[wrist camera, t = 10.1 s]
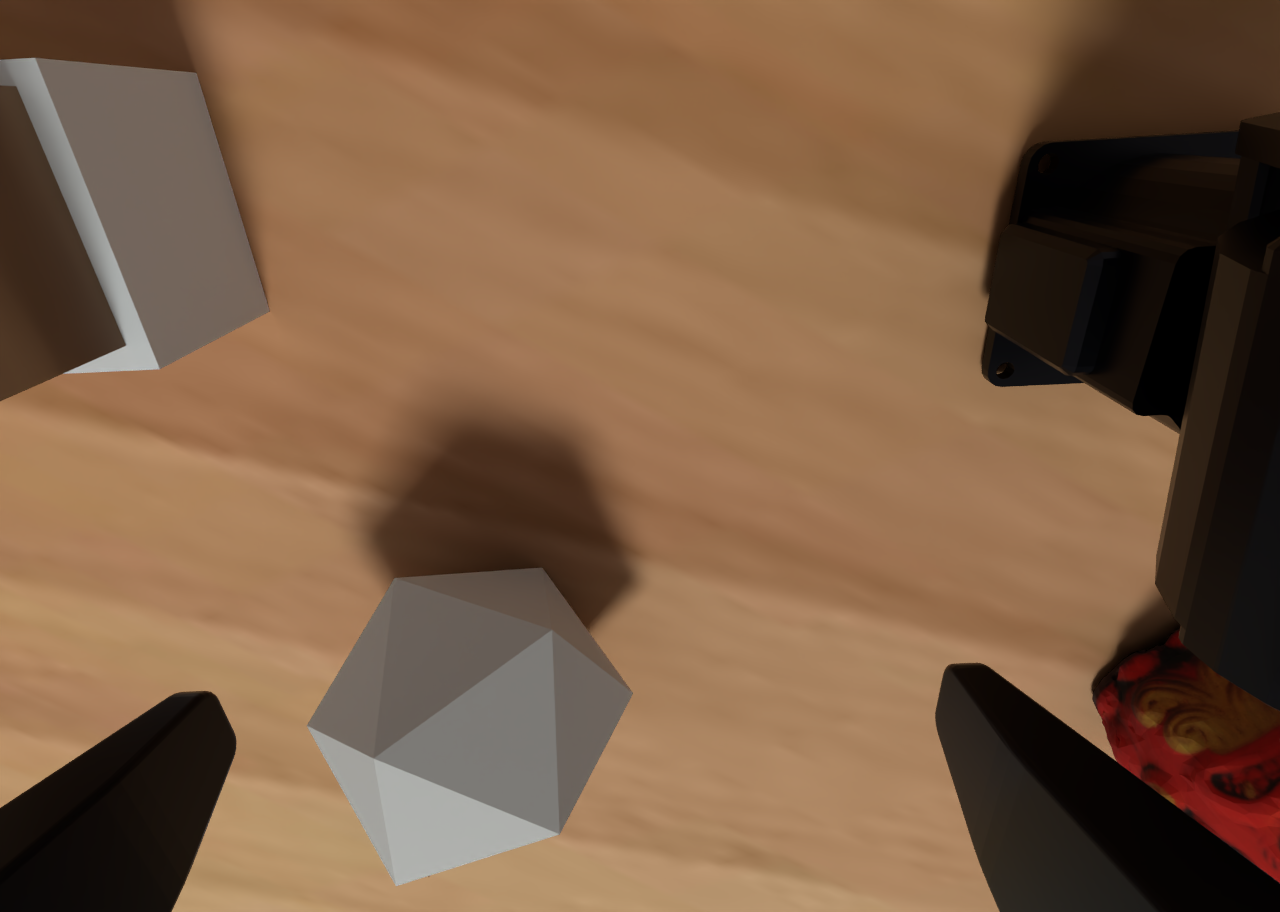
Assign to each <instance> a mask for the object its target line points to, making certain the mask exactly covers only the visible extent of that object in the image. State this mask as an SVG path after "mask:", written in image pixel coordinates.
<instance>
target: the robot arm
mask: <svg viewBox="0 0 1280 912" xmlns="http://www.w3.org/2000/svg"><path fill="white" fill-rule="evenodd" d="M1046 154H1048V155H1049V156H1050V165H1049V167H1048V168H1047V169H1046V170H1045V171H1044V172H1043V173H1040V172H1039V170H1038V164H1039V162H1040V159H1041V158H1042V157H1043V156H1045V155H1046ZM985 322H986V323H987V325H988V326H989V331H988V336H987V342H986V347H985V352H984V357H983V363H982V374H983V376H984V378H985V379H987V380H988V381H989V382H991V383H992V384H994V385H995V386H1000V387H1007V386H1028V385H1049V384H1070V383H1085V384H1087V385H1089V386H1090V387H1092V388H1094V389H1095V390H1097V391H1099V392H1100V393H1102V394H1104V395H1105V396H1107V397H1108V398H1110V399H1112V400H1113V401H1115V402H1117V403H1118V404H1120V405H1122V406H1123V407H1125V408H1126V409H1128V410H1130V411H1131V412H1133V413H1135V414H1136V415H1141V416H1150V417H1152V418H1154V419H1155V420H1157V421H1159V422H1160V423H1162V424H1164V425H1165V426H1167V427H1169V428H1170V429H1172V430H1174V431H1175V432H1177V433H1179V434H1180V436H1179V441H1178V446H1177V451H1176V457H1175V462H1174V467H1173V472H1172V477H1171V483H1170V488H1169V493H1168V498H1167V503H1166V509H1165V514H1164V519H1163V524H1162V529H1161V534H1160V540H1159V545H1158V550H1157V555H1156V576H1155V584H1156V586H1157V588H1158V590H1159V592H1160V593H1161V595H1162V597H1163V599H1164V601H1165V602H1166V604H1167V606H1168V608H1169V610H1170V611H1171V613H1172V615H1173V617H1174V618H1175V619H1176V621H1177V622H1178V623H1179V624H1180V625H1181V627H1180V631H1179V639H1180V641H1181V643H1182V644H1183V645H1184V646H1185V647H1186V648H1188V649H1189V650H1190V651H1191V652H1192V653H1193V654H1194V655H1196V656H1197V657H1198V658H1199V659H1200V660H1201V661H1203V662H1204V663H1205V664H1206V665H1207V666H1208V667H1210V668H1211V669H1212V670H1213V671H1214V672H1216V673H1217V674H1219V675H1220V676H1222V677H1223V678H1225V679H1227V680H1228V681H1230V682H1231V683H1233V684H1235V685H1236V686H1238V687H1239V688H1241V689H1243V690H1244V691H1246V692H1247V693H1249V694H1251V695H1252V696H1254V697H1255V698H1257V699H1259V700H1260V701H1262V702H1263V703H1265V704H1267V705H1268V706H1270V707H1272V708H1274V709H1276V710H1278V711H1280V112H1279V113H1274V114H1269V115H1264V116H1259V117H1254V118H1249V119H1245V120H1242V121H1241V123H1240V129H1239V130H1237V131H1220V132H1203V133H1185V134H1168V135H1151V136H1134V137H1117V138H1100V139H1082V140H1065V141H1048V142H1042V143H1038V144H1036V145H1034V146H1033V147H1031V148H1030V149H1029V150H1028V151H1027V152H1026V154H1025V155H1024V156H1023V159H1022V161H1021V164H1020V169H1019V174H1018V180H1017V185H1016V190H1015V195H1014V201H1013V206H1012V211H1011V216H1010V221H1009V225H1008V227H1007V228H1006V229H1005V230H1004V231H1003V232H1002V233H1001V236H1000V241H999V247H998V252H997V257H996V263H995V268H994V273H993V279H992V284H991V289H990V295H989V300H988V305H987V311H986V316H985ZM1006 362H1008V366H1007V368H1006V370H1005V371H1004V372H1002V373H1000V374H997V373H996V371H997V369H998V367H999V366H1000V365H1001V364H1002V363H1006ZM935 719H936V727H937V732H938V735H939V738H940V741H941V745H942V748H943V751H944V754H945V757H946V761H947V764H948V767H949V770H950V773H951V776H952V780H953V783H954V786H955V789H956V792H957V795H958V799H959V802H960V805H961V808H962V811H963V814H964V818H965V821H966V824H967V827H968V830H969V834H970V837H971V840H972V843H973V846H974V849H975V852H976V855H977V858H978V860H979V863H980V866H981V868H982V871H983V873H984V876H985V878H986V881H987V883H988V886H989V888H990V890H991V893H992V895H993V897H994V900H995V902H996V904H997V907H998V909H999V911H1000V912H1280V883H1279V882H1278V881H1277V880H1275V879H1274V878H1273V877H1271V876H1270V875H1268V874H1267V873H1266V872H1264V871H1263V870H1262V869H1260V868H1259V867H1258V866H1256V865H1255V864H1254V863H1252V862H1251V861H1250V860H1248V859H1247V858H1246V857H1244V856H1243V855H1242V854H1240V853H1239V852H1238V851H1236V850H1235V849H1233V848H1232V847H1231V846H1229V845H1228V844H1227V843H1225V842H1224V841H1223V840H1221V839H1220V838H1219V837H1217V836H1216V835H1215V834H1213V833H1212V832H1211V831H1209V830H1208V829H1207V828H1205V827H1204V826H1202V825H1201V824H1200V823H1198V822H1197V821H1196V820H1194V819H1193V818H1192V817H1190V816H1189V815H1188V814H1186V813H1185V812H1184V811H1182V810H1181V809H1180V808H1178V807H1177V806H1176V805H1174V804H1173V803H1172V802H1170V801H1169V800H1167V799H1166V798H1165V797H1163V796H1162V795H1161V794H1159V793H1158V792H1157V791H1155V790H1154V789H1153V788H1151V787H1150V786H1149V785H1147V784H1146V783H1145V782H1143V781H1142V780H1141V779H1139V778H1138V777H1136V776H1135V775H1134V774H1132V773H1131V772H1130V771H1128V770H1127V769H1126V768H1124V767H1123V766H1122V765H1120V764H1119V763H1118V762H1116V761H1115V760H1114V759H1112V758H1111V757H1110V756H1108V755H1107V754H1105V753H1104V752H1103V751H1101V750H1100V749H1099V748H1097V747H1096V746H1095V745H1093V744H1092V743H1091V742H1089V741H1088V740H1087V739H1085V738H1084V737H1083V736H1081V735H1080V734H1079V733H1077V732H1076V731H1075V730H1073V729H1072V728H1070V727H1069V726H1068V725H1066V724H1065V723H1064V722H1062V721H1061V720H1060V719H1058V718H1057V717H1056V716H1054V715H1053V714H1052V713H1050V712H1049V711H1048V710H1046V709H1045V708H1044V707H1042V706H1041V705H1039V704H1038V703H1037V702H1035V701H1034V700H1033V699H1031V698H1030V697H1029V696H1027V695H1026V694H1025V693H1023V692H1022V691H1021V690H1019V689H1018V688H1017V687H1015V686H1014V685H1013V684H1011V683H1010V682H1009V681H1007V680H1006V679H1004V678H1003V677H1002V676H1000V675H999V674H998V673H996V672H995V671H994V670H992V669H991V668H990V667H988V666H986V665H984V664H981V663H960V664H950V665H948V666H947V667H946V669H945V671H944V674H943V678H942V683H941V688H940V693H939V697H938V702H937V707H936V713H935ZM235 751H236V736H235V733H234V731H233V729H232V727H231V725H230V722H229V720H228V718H227V716H226V714H225V712H224V710H223V708H222V706H221V704H220V702H219V700H218V698H217V696H216V695H214V694H213V693H212V692H208V691H194V692H180V693H176V694H173V695H171V696H170V697H168V698H166V699H165V700H163V701H162V702H160V703H159V704H157V705H156V706H154V707H153V708H151V709H150V710H148V711H147V712H145V713H144V714H142V715H141V716H139V717H138V718H136V719H135V720H133V721H132V722H130V723H128V724H127V725H125V726H124V727H122V728H121V729H119V730H118V731H116V732H115V733H113V734H112V735H110V736H109V737H107V738H106V739H104V740H103V741H101V742H100V743H98V744H97V745H95V746H94V747H92V748H91V749H89V750H88V751H86V752H84V753H83V754H81V755H80V756H78V757H77V758H75V759H74V760H72V761H71V762H69V763H68V764H66V765H65V766H63V767H62V768H60V769H59V770H57V771H56V772H54V773H53V774H51V775H50V776H48V777H47V778H45V779H44V780H42V781H41V782H39V783H37V784H36V785H34V786H33V787H31V788H30V789H28V790H27V791H25V792H24V793H22V794H21V795H19V796H18V797H16V798H15V799H13V800H12V801H10V802H9V803H7V804H6V805H4V806H3V807H1V808H0V912H171V911H172V909H173V907H174V905H175V903H176V901H177V899H178V897H179V895H180V892H181V890H182V888H183V886H184V884H185V881H186V879H187V876H188V874H189V872H190V869H191V867H192V865H193V862H194V860H195V857H196V854H197V852H198V849H199V847H200V844H201V842H202V839H203V836H204V834H205V831H206V829H207V826H208V823H209V821H210V818H211V816H212V813H213V810H214V808H215V805H216V803H217V800H218V798H219V795H220V792H221V790H222V787H223V785H224V782H225V779H226V777H227V774H228V772H229V769H230V766H231V764H232V761H233V759H234V755H235Z"/></svg>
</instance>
